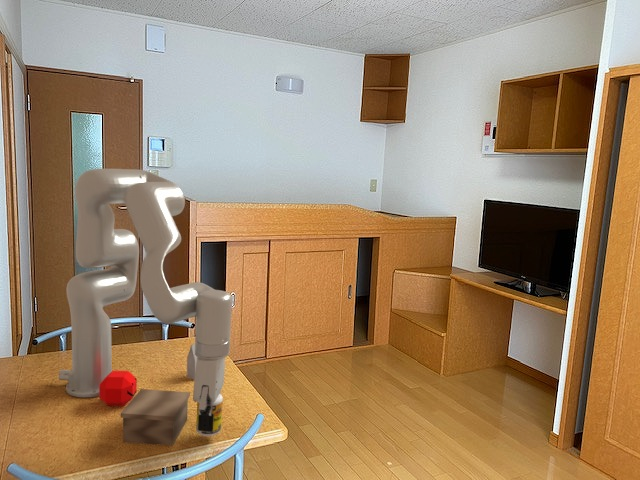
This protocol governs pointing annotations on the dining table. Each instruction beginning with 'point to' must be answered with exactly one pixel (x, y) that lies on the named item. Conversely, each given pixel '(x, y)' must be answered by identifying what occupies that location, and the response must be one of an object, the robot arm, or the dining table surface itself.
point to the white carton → (191, 362)
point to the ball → (118, 388)
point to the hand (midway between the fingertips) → (209, 422)
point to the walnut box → (155, 417)
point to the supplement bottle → (217, 416)
